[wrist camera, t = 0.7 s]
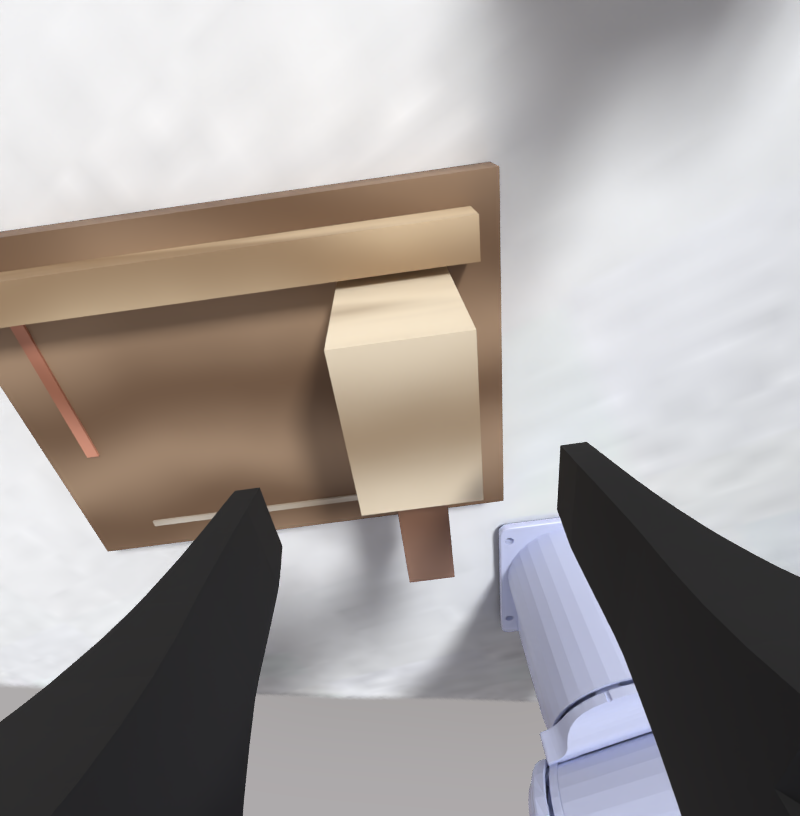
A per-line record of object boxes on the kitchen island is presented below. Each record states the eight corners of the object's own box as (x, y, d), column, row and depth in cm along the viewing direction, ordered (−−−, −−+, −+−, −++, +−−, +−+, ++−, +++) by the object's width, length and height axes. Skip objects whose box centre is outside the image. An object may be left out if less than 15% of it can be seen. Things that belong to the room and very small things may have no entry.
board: (496, 480, 25) (510, 522, 23) (120, 529, 26) (93, 575, 23) (489, 162, 17) (510, 171, 15) (-56, 239, 18) (-127, 262, 15)
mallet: (462, 490, 24) (487, 597, 18) (380, 501, 24) (383, 610, 19) (445, 264, 18) (476, 329, 13) (337, 280, 18) (324, 350, 13)
